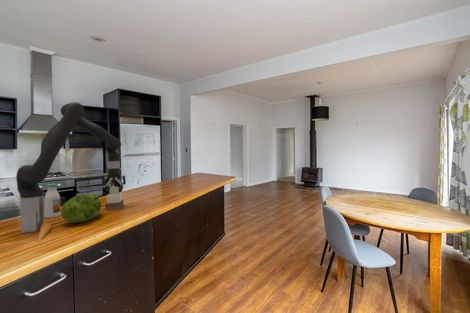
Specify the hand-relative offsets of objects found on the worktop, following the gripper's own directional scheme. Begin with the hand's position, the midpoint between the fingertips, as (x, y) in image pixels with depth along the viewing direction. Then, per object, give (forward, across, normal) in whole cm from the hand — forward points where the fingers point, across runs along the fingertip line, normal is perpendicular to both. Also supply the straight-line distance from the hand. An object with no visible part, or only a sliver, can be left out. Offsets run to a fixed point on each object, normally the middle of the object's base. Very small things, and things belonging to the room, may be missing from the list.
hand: (114, 190), depth 164 cm
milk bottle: (+12, -33, -9) cm, 36 cm away
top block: (+8, 0, 0) cm, 8 cm away
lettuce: (+12, -12, -24) cm, 30 cm away
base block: (+12, 0, 0) cm, 13 cm away
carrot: (+13, -25, -46) cm, 54 cm away
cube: (+2, 0, 0) cm, 2 cm away
